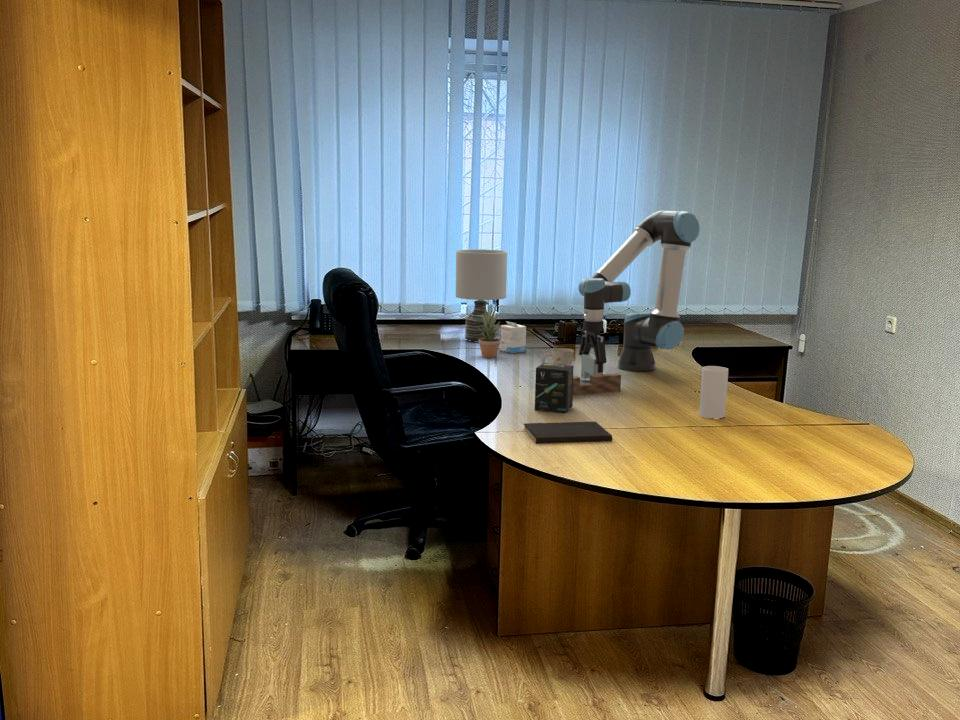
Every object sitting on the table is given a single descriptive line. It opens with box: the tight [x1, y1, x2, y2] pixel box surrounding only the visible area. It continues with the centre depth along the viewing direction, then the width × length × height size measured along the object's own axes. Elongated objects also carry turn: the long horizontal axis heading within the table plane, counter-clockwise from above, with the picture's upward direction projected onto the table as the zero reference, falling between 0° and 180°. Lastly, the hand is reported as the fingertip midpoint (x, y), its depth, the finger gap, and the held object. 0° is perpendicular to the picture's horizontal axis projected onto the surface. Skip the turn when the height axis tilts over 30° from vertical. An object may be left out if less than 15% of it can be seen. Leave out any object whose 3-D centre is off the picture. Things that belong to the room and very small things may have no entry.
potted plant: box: [477, 300, 501, 358], centre depth 383 cm, size 10×10×25 cm
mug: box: [541, 347, 575, 365], centre depth 349 cm, size 8×13×10 cm, turn 78°
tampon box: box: [534, 362, 574, 414], centre depth 295 cm, size 11×9×15 cm
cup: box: [698, 365, 729, 419], centre depth 289 cm, size 8×8×16 cm
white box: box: [500, 320, 527, 354], centre depth 396 cm, size 9×8×13 cm
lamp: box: [455, 248, 508, 341], centre depth 420 cm, size 24×24×42 cm
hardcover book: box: [523, 421, 613, 445], centre depth 265 cm, size 16×23×2 cm
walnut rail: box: [573, 372, 622, 396], centre depth 320 cm, size 28×3×6 cm, turn 111°
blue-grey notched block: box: [580, 353, 597, 380], centre depth 336 cm, size 4×10×9 cm, turn 21°
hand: (591, 377), depth 336 cm, fingers closed on blue-grey notched block, 10 cm apart
